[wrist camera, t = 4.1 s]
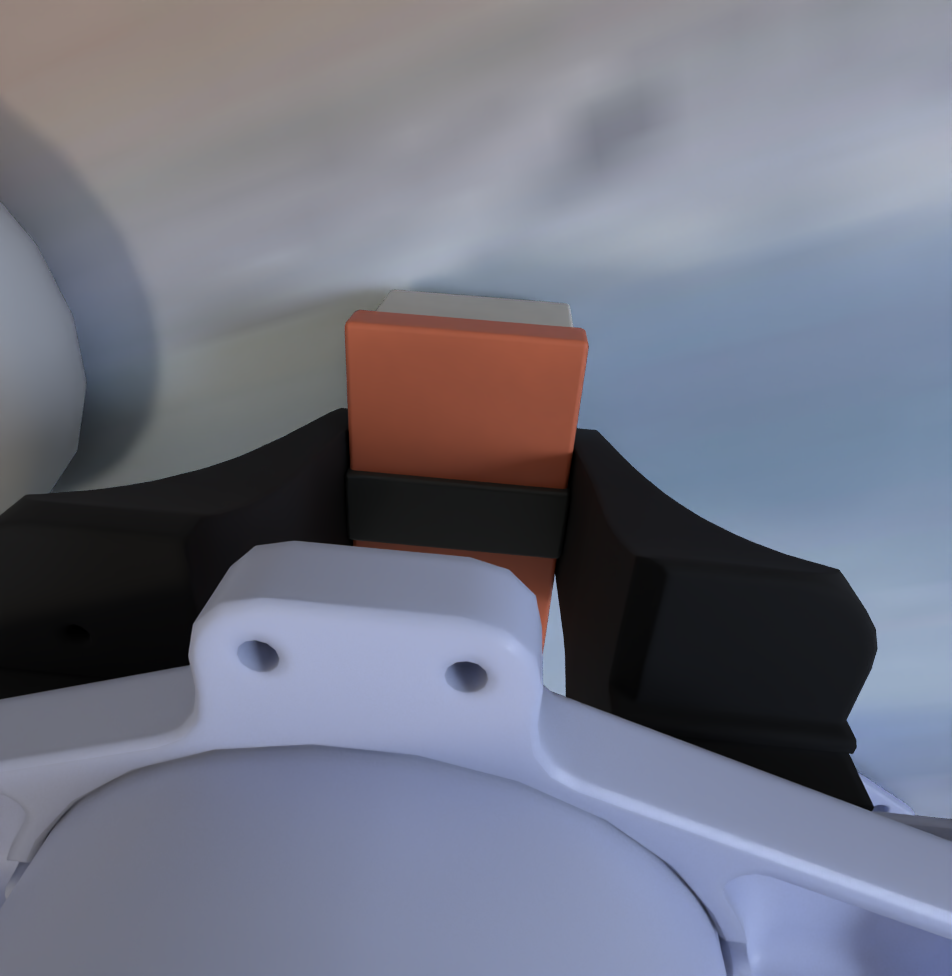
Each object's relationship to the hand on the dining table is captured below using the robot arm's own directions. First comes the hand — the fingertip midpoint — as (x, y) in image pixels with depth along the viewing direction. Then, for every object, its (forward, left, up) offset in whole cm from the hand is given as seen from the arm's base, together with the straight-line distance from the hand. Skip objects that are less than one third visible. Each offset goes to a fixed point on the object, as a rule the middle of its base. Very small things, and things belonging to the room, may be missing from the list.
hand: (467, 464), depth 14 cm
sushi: (0, 0, -2) cm, 2 cm away
